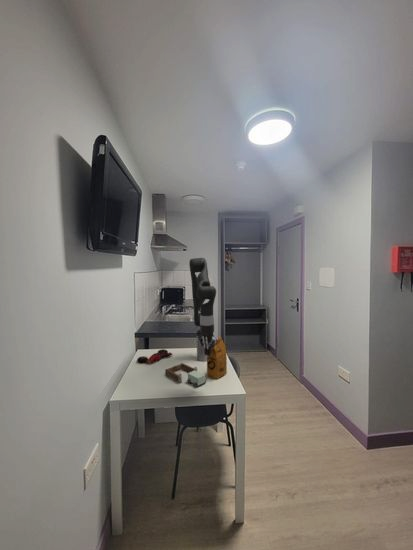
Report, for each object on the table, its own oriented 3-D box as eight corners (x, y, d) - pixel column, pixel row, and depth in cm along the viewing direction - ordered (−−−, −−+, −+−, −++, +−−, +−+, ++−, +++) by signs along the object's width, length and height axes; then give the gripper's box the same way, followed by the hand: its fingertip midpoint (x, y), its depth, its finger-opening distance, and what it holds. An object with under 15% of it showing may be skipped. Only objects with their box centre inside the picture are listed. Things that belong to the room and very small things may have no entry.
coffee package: (204, 376, 143) (203, 340, 142) (216, 368, 152) (215, 335, 152) (217, 380, 136) (216, 343, 136) (229, 372, 146) (228, 338, 145)
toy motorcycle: (135, 364, 166) (147, 366, 156) (134, 356, 167) (146, 358, 156) (163, 354, 185) (176, 356, 174) (163, 348, 185) (175, 349, 174)
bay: (182, 368, 154) (182, 360, 154) (198, 375, 144) (197, 367, 143) (165, 375, 145) (164, 367, 145) (179, 383, 134) (179, 375, 134)
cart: (206, 383, 133) (206, 374, 133) (197, 388, 128) (196, 378, 128) (195, 378, 140) (195, 369, 139) (186, 382, 135) (186, 373, 135)
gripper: (221, 323, 123) (221, 356, 124) (203, 320, 133) (204, 350, 134) (210, 326, 118) (211, 360, 119) (193, 322, 128) (194, 353, 128)
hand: (207, 354), depth 126 cm, fingers closed
